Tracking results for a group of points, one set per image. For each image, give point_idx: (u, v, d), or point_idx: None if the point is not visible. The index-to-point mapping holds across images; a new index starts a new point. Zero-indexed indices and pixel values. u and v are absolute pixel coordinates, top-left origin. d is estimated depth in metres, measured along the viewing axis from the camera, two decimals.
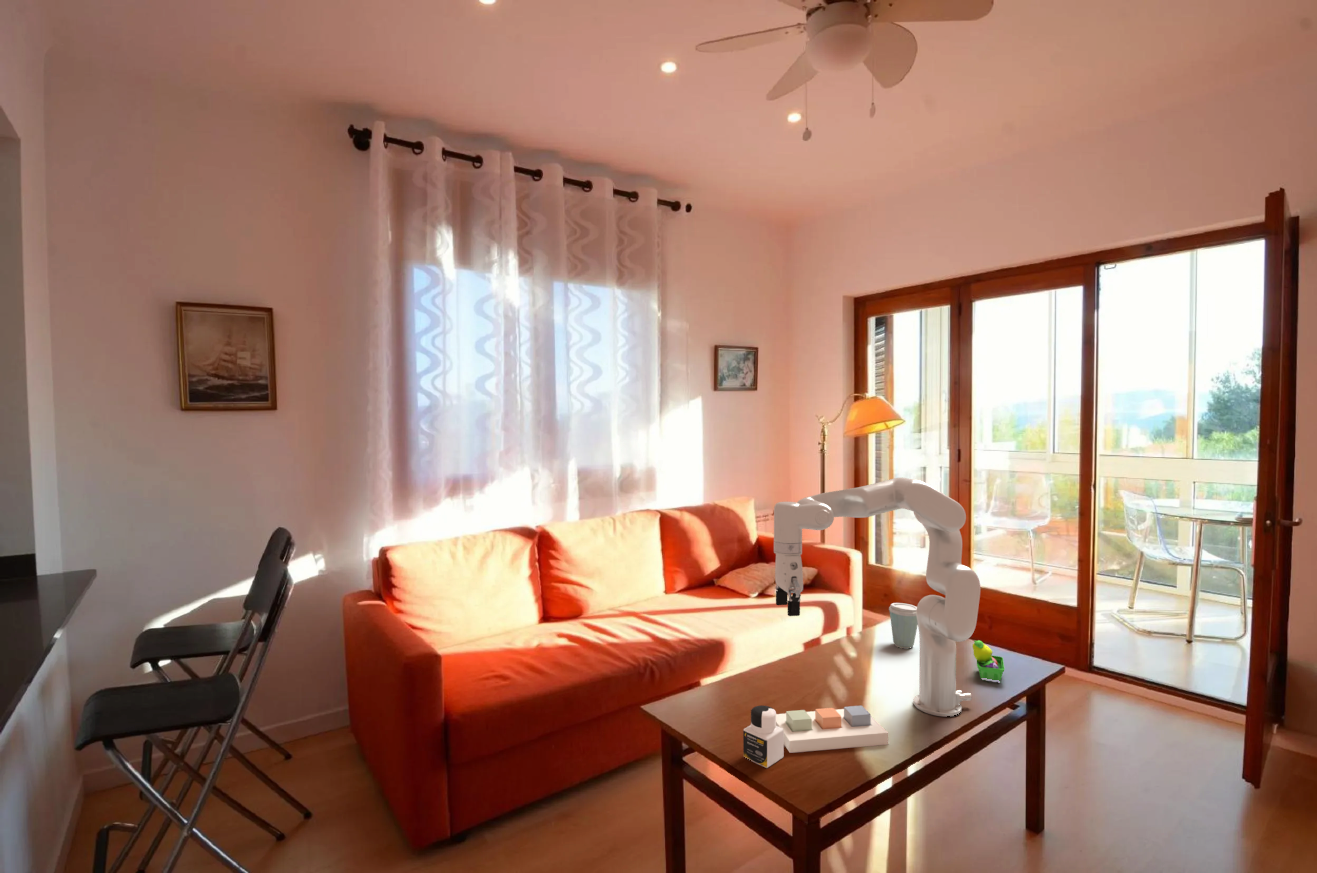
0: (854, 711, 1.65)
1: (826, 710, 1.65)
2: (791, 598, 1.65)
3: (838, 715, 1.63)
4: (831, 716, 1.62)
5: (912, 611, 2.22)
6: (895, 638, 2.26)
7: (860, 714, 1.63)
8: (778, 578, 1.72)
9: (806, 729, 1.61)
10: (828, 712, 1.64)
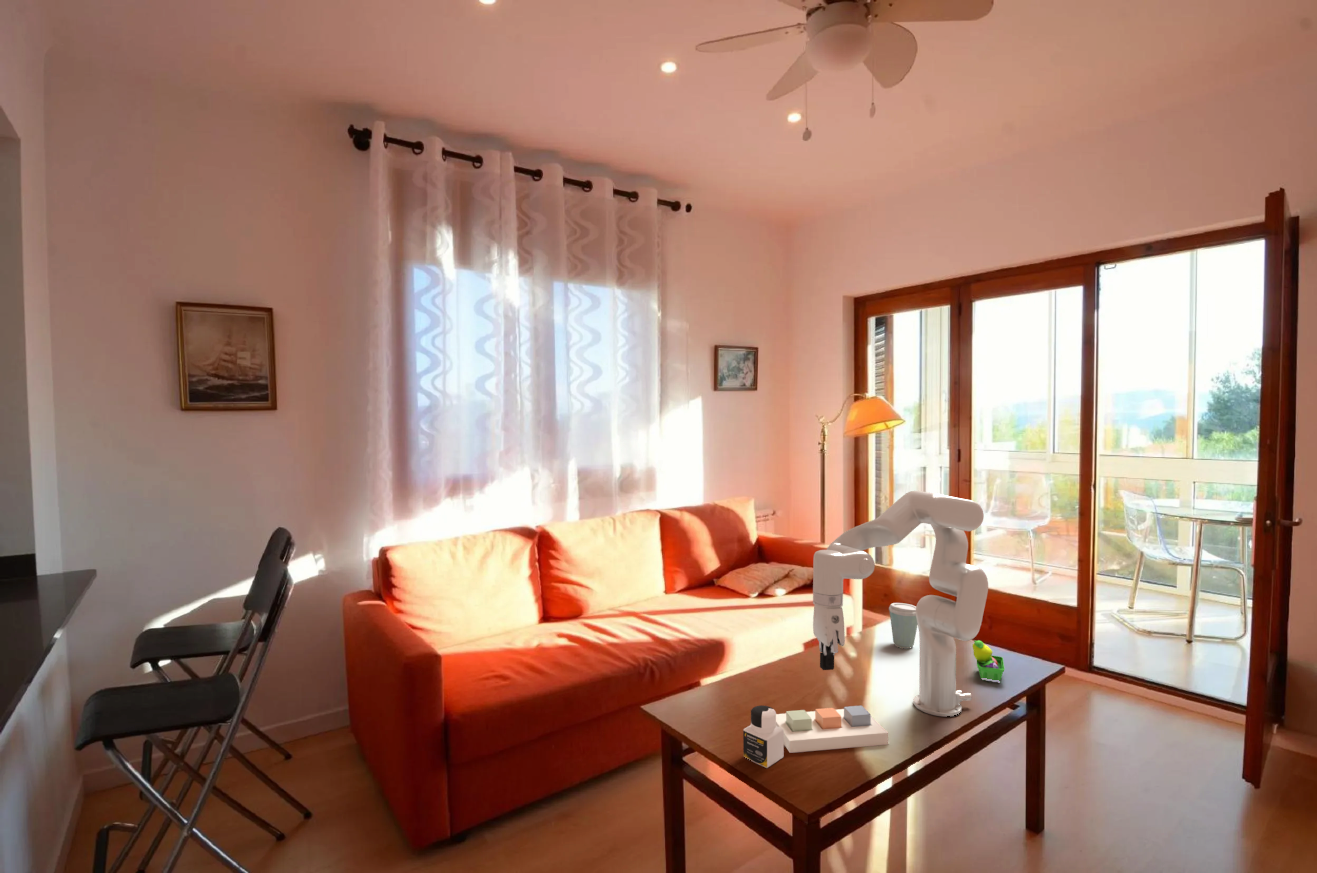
0: (854, 711, 1.65)
1: (826, 710, 1.65)
2: (825, 652, 1.62)
3: (838, 715, 1.63)
4: (831, 716, 1.62)
5: (912, 611, 2.22)
6: (895, 638, 2.26)
7: (860, 714, 1.63)
8: (817, 630, 1.64)
9: (806, 729, 1.61)
10: (828, 712, 1.64)
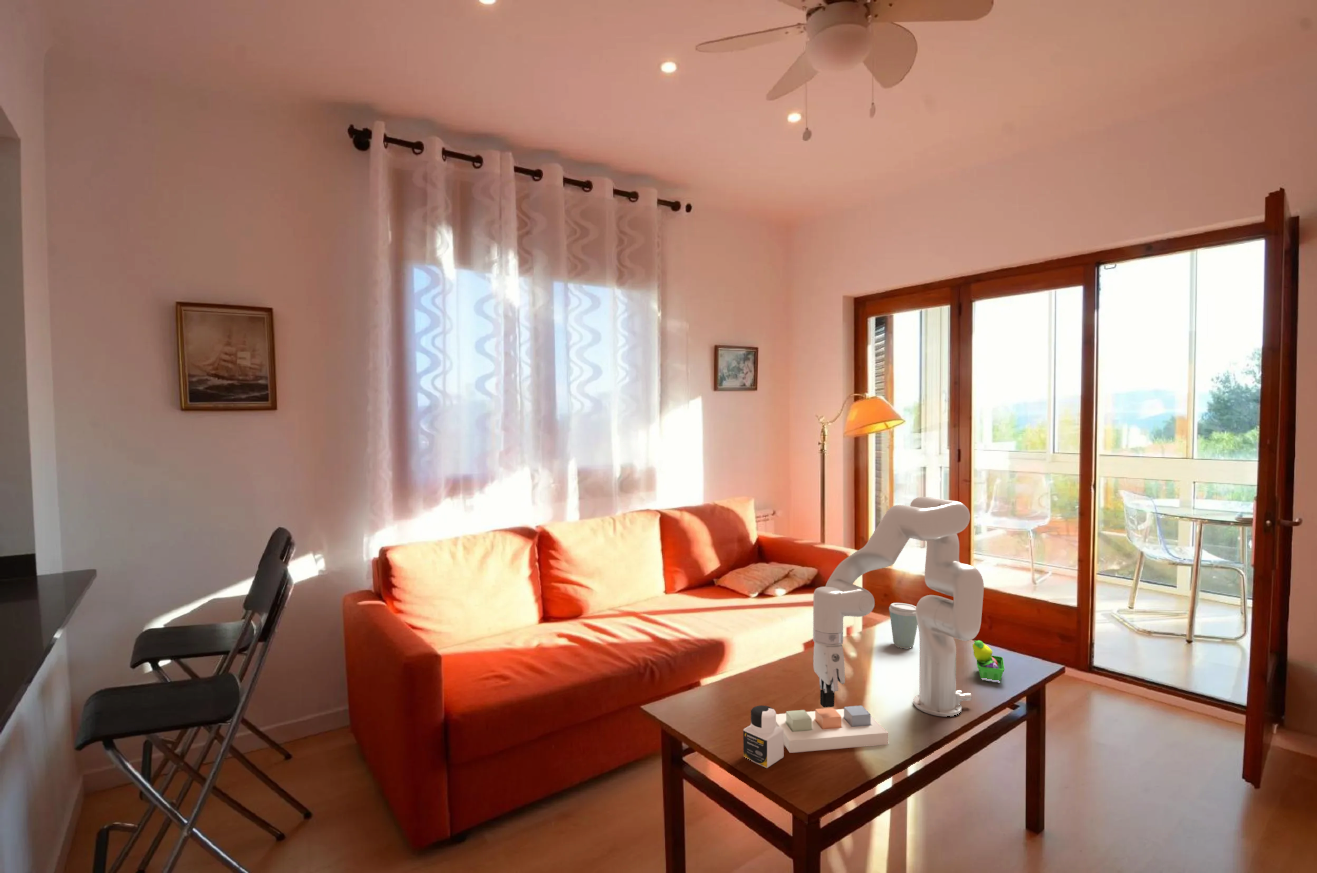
0: (854, 711, 1.65)
1: (826, 710, 1.65)
2: (826, 689, 1.62)
3: (838, 715, 1.63)
4: (831, 716, 1.62)
5: (912, 611, 2.22)
6: (895, 638, 2.26)
7: (860, 714, 1.63)
8: (817, 667, 1.64)
9: (806, 729, 1.61)
10: (828, 712, 1.64)
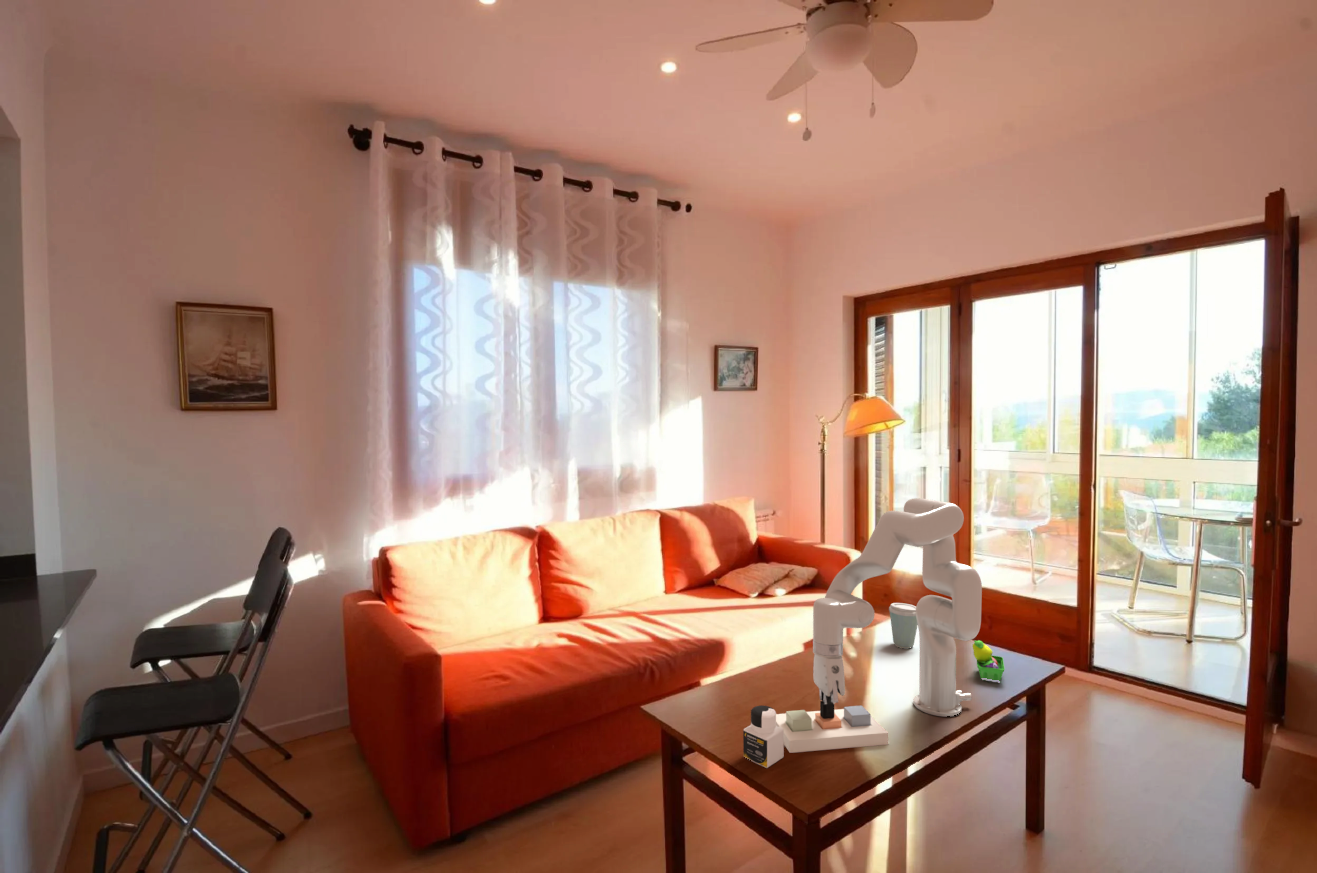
0: (854, 711, 1.65)
1: None
2: (826, 701, 1.62)
3: (838, 719, 1.63)
4: (831, 720, 1.62)
5: (912, 611, 2.22)
6: (895, 638, 2.26)
7: (860, 714, 1.63)
8: (817, 679, 1.64)
9: (806, 729, 1.61)
10: None
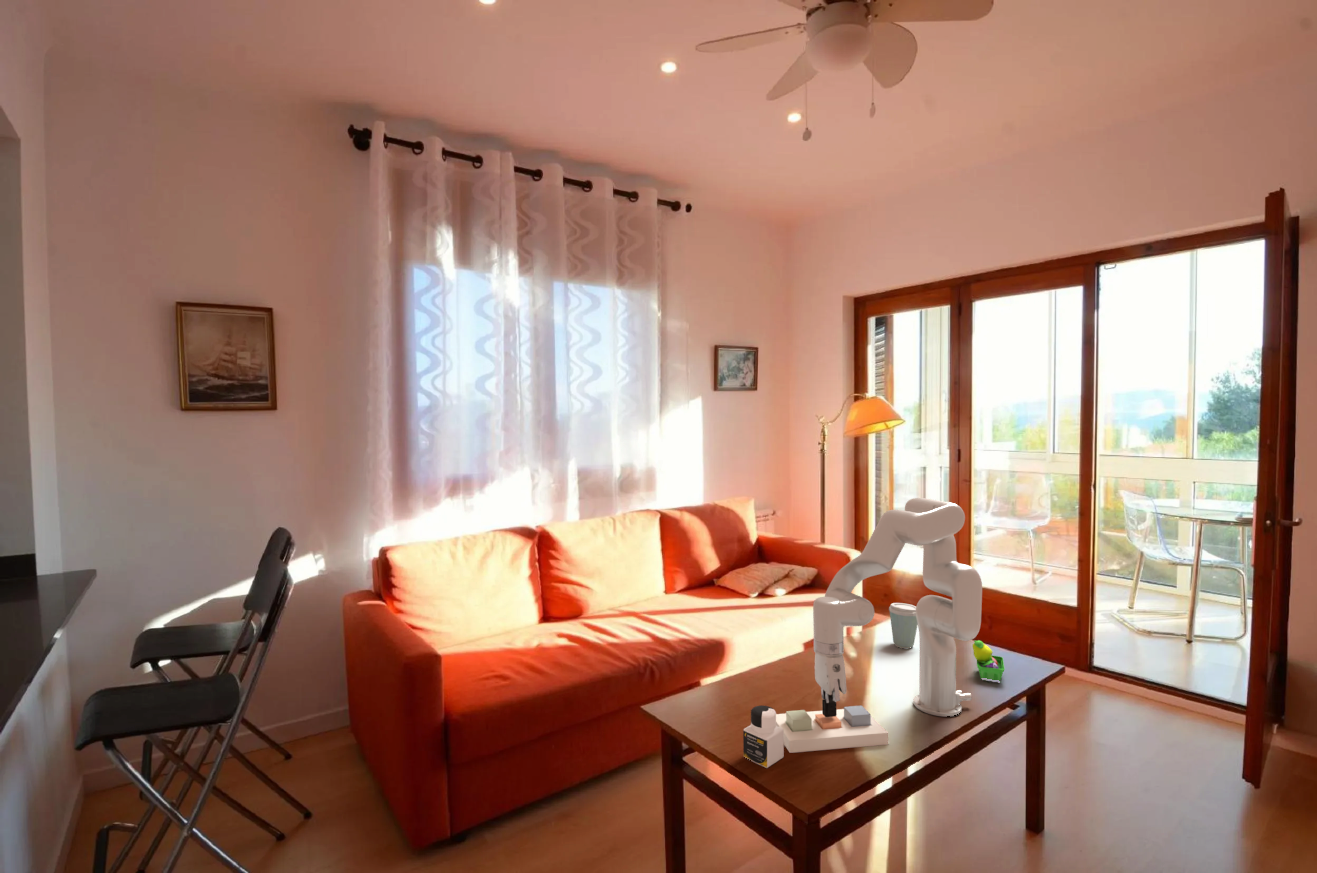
0: (854, 711, 1.65)
1: None
2: (828, 699, 1.63)
3: (838, 721, 1.63)
4: (831, 722, 1.62)
5: (912, 611, 2.22)
6: (895, 638, 2.26)
7: (860, 714, 1.63)
8: (819, 677, 1.65)
9: (806, 729, 1.61)
10: (828, 718, 1.64)
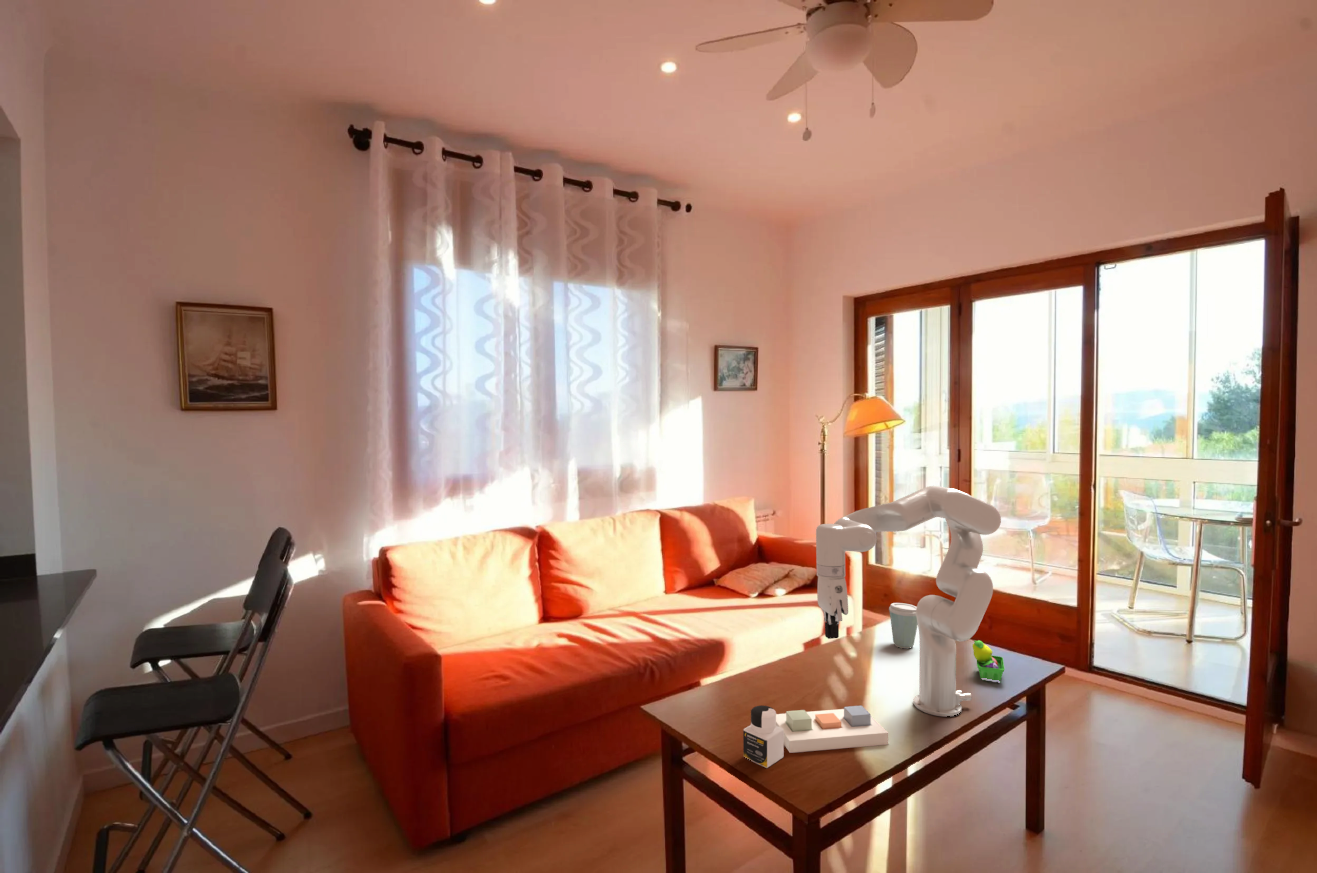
0: (854, 711, 1.65)
1: (826, 716, 1.65)
2: (830, 621, 1.69)
3: (838, 721, 1.63)
4: (831, 722, 1.62)
5: (912, 611, 2.22)
6: (895, 638, 2.26)
7: (860, 714, 1.63)
8: (821, 601, 1.71)
9: (806, 729, 1.61)
10: (828, 718, 1.64)
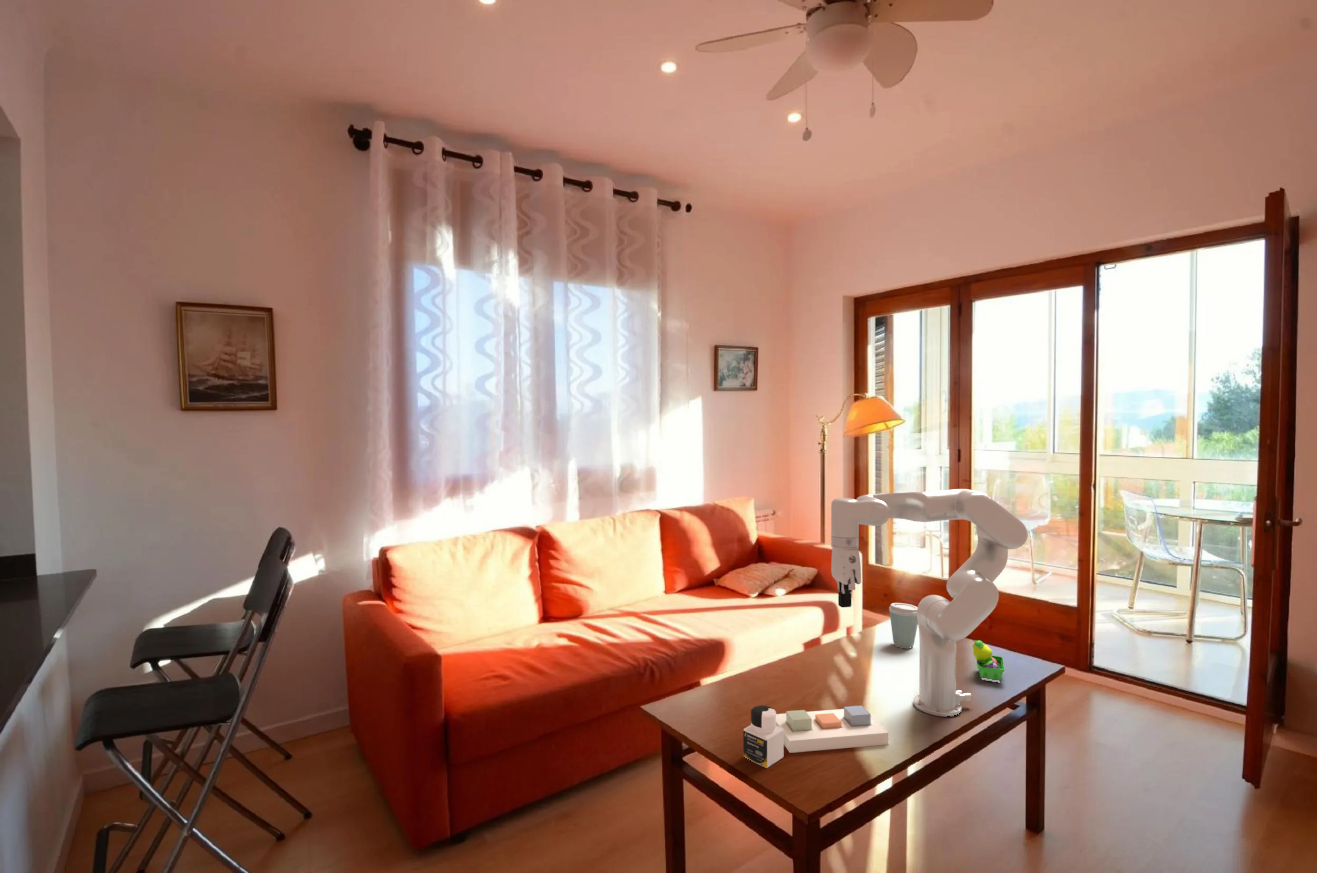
0: (854, 711, 1.65)
1: (826, 716, 1.65)
2: (843, 590, 1.77)
3: (838, 721, 1.63)
4: (831, 722, 1.62)
5: (912, 611, 2.22)
6: (895, 638, 2.26)
7: (860, 714, 1.63)
8: (835, 571, 1.79)
9: (806, 729, 1.61)
10: (828, 718, 1.64)
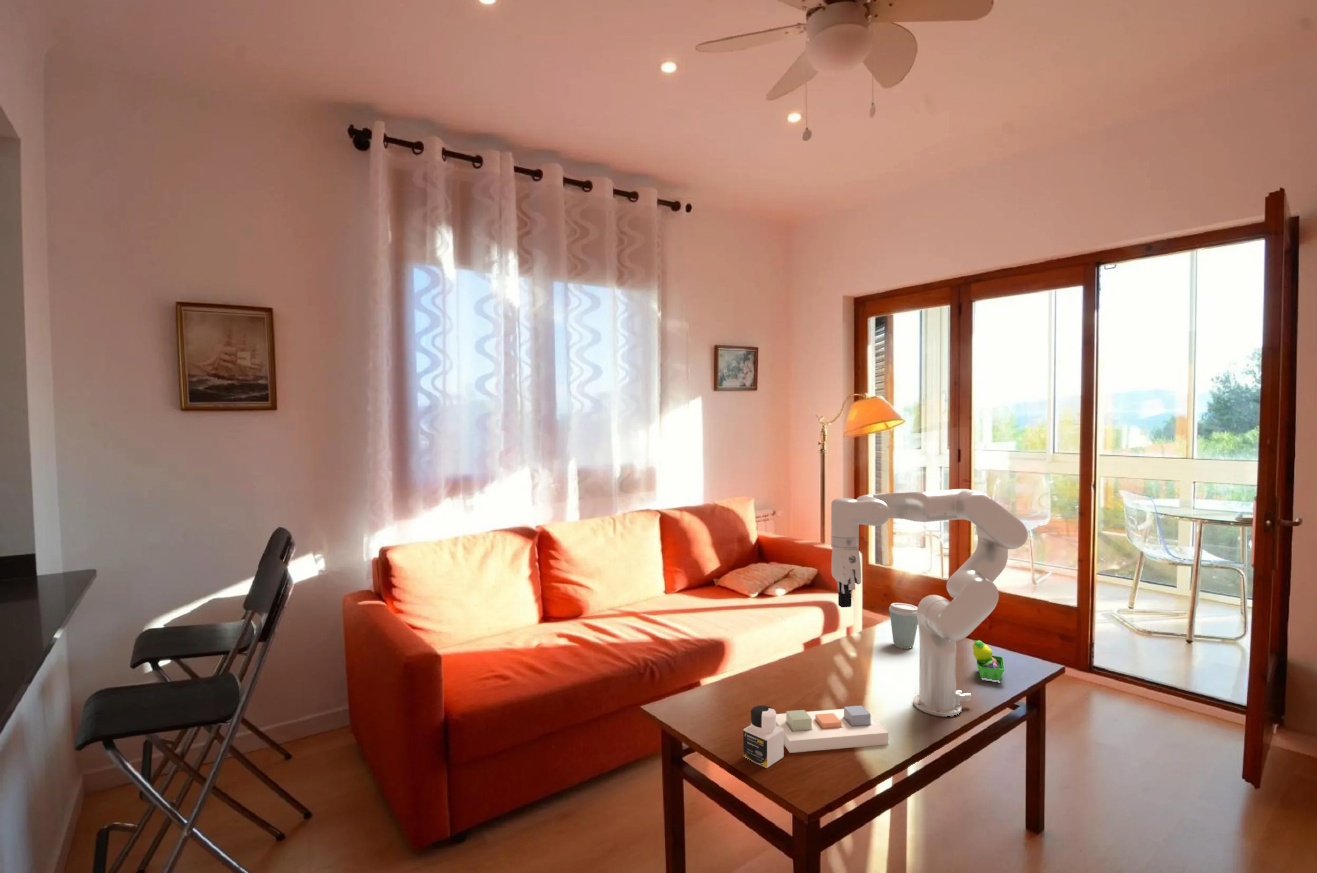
0: (854, 711, 1.65)
1: (826, 716, 1.65)
2: (843, 590, 1.77)
3: (838, 721, 1.63)
4: (831, 722, 1.62)
5: (912, 611, 2.22)
6: (895, 638, 2.26)
7: (860, 714, 1.63)
8: (835, 571, 1.79)
9: (806, 729, 1.61)
10: (828, 718, 1.64)
